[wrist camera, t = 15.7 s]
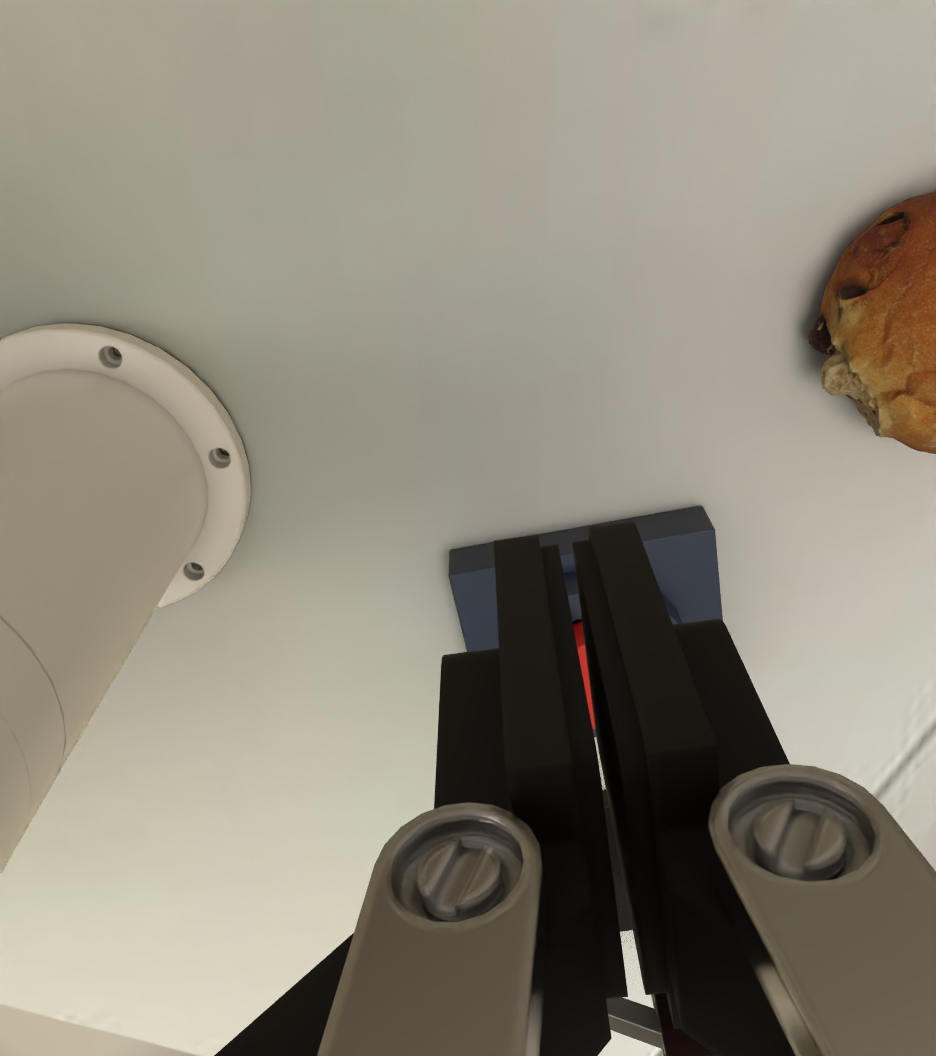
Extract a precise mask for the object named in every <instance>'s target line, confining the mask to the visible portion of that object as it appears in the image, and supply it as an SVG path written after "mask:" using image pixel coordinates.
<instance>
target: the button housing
mask: <svg viewBox="0 0 936 1056" xmlns="http://www.w3.org/2000/svg"><path fill="white" fill-rule="evenodd" d="M631 521H634V522H635V524H636V526H637V529H638V531H639V534H640V537H641V540H642V542H643V545H644V548H645V550H646V553H647V556H648V559H649V561H650V564H651V567H652V569H653V572H654V575H655V578H656V580H657V583H658V586H659V589H660V591H661V594H662V597H663V599H664V602H665V605H666V608H667V610H668V613H669V616H670V618H671V621H672V624H681V623H688V622H696V621H703V620H711V619H718V618H719V619H721V620H722V621H723V618H722V607H721V595H720V584H719V572H718V561H717V549H716V537H715V529H714V527H713V525H712V523H711V521H710V520H709V518H708V516H707V514H706V512H705V510H704V508H703V507H702V506H699V507H694V508H688V509H682V510H677V511H671V512H665V513H660V514H654V515H648V516H643V517H637V518H631V519H626V520H620V521H614V522H609V523H603V524H597V525H592V526H586V527H580V528H575V529H569V530H563V531H558V532H552V533H546V534H541V535H539V542H540V546H547V545H554V544H558V546H559V552H560V557H561V562H562V568H563V573H564V579H565V584H566V589H567V595H568V600H569V605H570V611H571V616H572V621H573V624H575V623H577V622H580V621H582V619H581V611H580V603H579V595H578V587H577V579H576V571H575V563H574V554H573V545H572V542H575V541H582V540H589V535H588V528H589V527H596V526H603V525H610V524H617V523H624V522H631ZM449 579H450V583H451V588H452V592H453V596H454V600H455V604H456V608H457V612H458V616H459V621H460V625H461V629H462V633H463V637H464V641H465V645H466V649H467V652H471V651H479V650H486V649H494V648H499V638H498V618H497V597H496V577H495V557H494V543H490V544H484V545H478V546H473V547H467V548H461V549H456V550H451V551H450V555H449ZM593 734H594V737H597V736H596V730H595V729H593Z"/></svg>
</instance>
